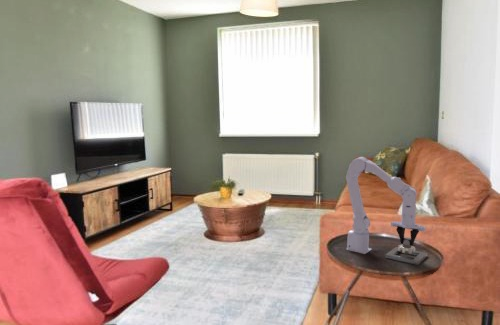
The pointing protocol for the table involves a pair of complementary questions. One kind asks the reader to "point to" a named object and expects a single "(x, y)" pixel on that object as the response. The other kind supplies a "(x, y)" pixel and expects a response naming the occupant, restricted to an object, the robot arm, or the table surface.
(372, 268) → the table surface
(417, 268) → the table surface
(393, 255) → the carrier plate
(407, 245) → the planet gear
